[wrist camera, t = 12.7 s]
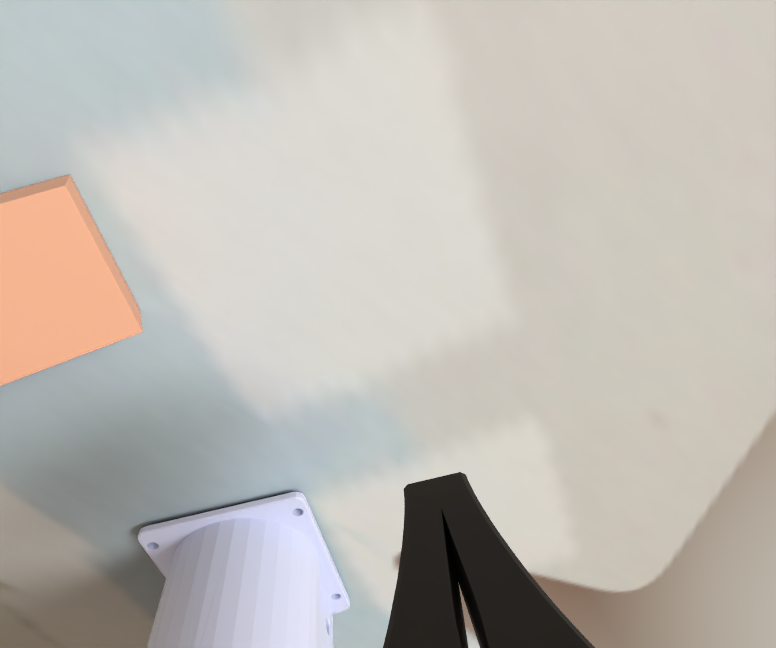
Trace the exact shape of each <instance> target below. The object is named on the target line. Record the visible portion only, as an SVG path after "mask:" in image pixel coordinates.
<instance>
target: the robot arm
mask: <svg viewBox="0 0 776 648" xmlns="http://www.w3.org/2000/svg"><path fill="white" fill-rule="evenodd" d="M404 498H405V515H404V531H403V542H402V550H401V557H400V565H399V572H398V579H397V585H396V590H395V595H394V600H393V605H392V610H391V615H390V620H389V625H388V629H387V634H386V638H385V642H384V646H383V648H468V643H467V636H466V629H465V623H464V617H463V610H462V603H461V597H460V591H459V585H460V588H461V591H462V594H463V597H464V600H465V603H466V606H467V609H468V612H469V615H470V618H471V621H472V624H473V627H474V630H475V633H476V636H477V639H478V642H479V645H480V648H594V646H593V645H592V644H591V643H590V642H589V641H588V640H587V639H586V638H585V637H584V636H583V635H582V634H581V633H580V632H579V630H578V629H576V627H575V626H574V625H573V624H572V623H571V622H570V621H569V620H568V618H567V617H566V616H565V615H564V614H563V613H562V612H561V611H560V610H559V608H558V607H557V606H556V605H555V604H554V603H553V602H552V600H551V599H550V598H549V597H548V596H547V594H546V593H545V592H544V591H543V590H542V588H541V587H540V586H539V585H538V584H537V582H536V581H535V580H534V579H533V577H532V576H531V575H530V574H529V572H528V571H527V570H526V569H525V567H524V566H523V565H522V563H521V562H520V561H519V560H518V558H517V557H516V556H515V554H514V553H513V551H512V550H511V549H510V547H509V546H508V544H507V543H506V542H505V540H504V539H503V538H502V536H501V535H500V533H499V532H498V530H497V529H496V528H495V526H494V525H493V523H492V522H491V520H490V518H489V517H488V515H487V514H486V512H485V511H484V509H483V507H482V506H481V504H480V502H479V501H478V499H477V497H476V495H475V493H474V492H473V490H472V488H471V486H470V484H469V481H468V479H467V477H466V475H465V474H463V473H461V472H459V473H455V474H450V475H446V476H442V477H437V478H433V479H429V480H425V481H420V482H416V483H412V484H408V485H407V486H406V487H405V488H404ZM137 539H138V541H139V543H140V544H141V545H142V547H143V548H144V549H145V551H146V552H147V554H148V555H149V556H150V558H151V559H152V560H153V562H154V563H155V564H156V566H157V567H158V569H159V570H160V571H161V573H162V574H163V575H164V577H165V578H166V581H165V584H164V588H163V591H162V595H161V598H160V602H159V605H158V609H157V612H156V616H155V620H154V623H153V627H152V630H151V634H150V637H149V641H148V644H147V648H333V614H334V613H338V612H342V611H345V610H347V609H348V608H349V606H350V602H349V597H348V595H347V592H346V590H345V588H344V585H343V583H342V581H341V578H340V576H339V574H338V571H337V569H336V567H335V565H334V562H333V560H332V558H331V555H330V553H329V551H328V548H327V546H326V544H325V541H324V539H323V537H322V534H321V532H320V530H319V527H318V525H317V523H316V521H315V518H314V516H313V514H312V511H311V509H310V507H309V504H308V502H307V500H306V497H305V496H304V495H303V494H302V493H300V492H291V493H286V494H282V495H278V496H274V497H269V498H265V499H261V500H256V501H252V502H248V503H243V504H239V505H235V506H231V507H226V508H222V509H218V510H213V511H209V512H205V513H201V514H196V515H192V516H188V517H183V518H179V519H175V520H170V521H166V522H162V523H158V524H153V525H149V526H145V527H143V528H141V529H140V531H139V534H138V537H137ZM458 582H459V584H458Z"/></svg>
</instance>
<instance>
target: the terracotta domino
mask: <svg viewBox="0 0 776 648" xmlns="http://www.w3.org/2000/svg"><path fill="white" fill-rule="evenodd" d="M141 332H143V331H142V323H141V315H140V309H139V307H138V305H137V303H136V301H135V299H134V297H133V296H132V294H131V292H130V290H129V288H128V286H127V284H126V282H125V280H124V278H123V276H122V274H121V272H120V270H119V268H118V267H117V265H116V263H115V261H114V259H113V257H112V255H111V253H110V251H109V249H108V247H107V245H106V243H105V241H104V240H103V238H102V236H101V234H100V232H99V230H98V228H97V226H96V224H95V222H94V220H93V218H92V216H91V214H90V212H89V211H88V209H87V207H86V205H85V203H84V201H83V199H82V197H81V195H80V193H79V191H78V189H77V187H76V185H75V183H74V182H73V180H72V178H71V176H70V174H69V175H65V176H62V177H58V178H55V179H51V180H47V181H44V182H40V183H37V184H33V185H30V186H26V187H23V188H19V189H15V190H12V191H8V192H5V193H1V194H0V386H1V385H4V384H7V383H9V382H12V381H15V380H17V379H20V378H23V377H25V376H28V375H30V374H33V373H36V372H38V371H41V370H44V369H46V368H49V367H52V366H54V365H57V364H59V363H62V362H65V361H67V360H70V359H73V358H75V357H78V356H81V355H83V354H86V353H89V352H91V351H94V350H96V349H99V348H102V347H104V346H107V345H110V344H112V343H115V342H118V341H120V340H123V339H125V338H128V337H131V336H133V335H136V334H139V333H141Z"/></svg>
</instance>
